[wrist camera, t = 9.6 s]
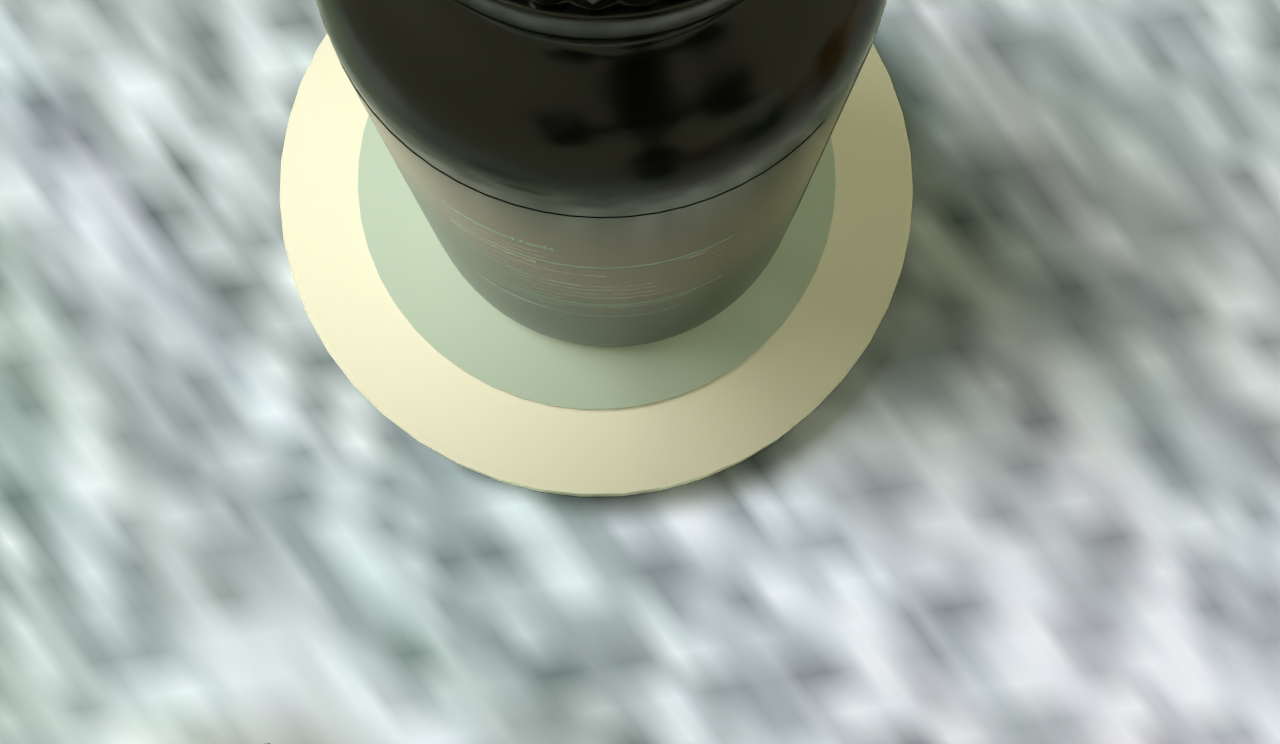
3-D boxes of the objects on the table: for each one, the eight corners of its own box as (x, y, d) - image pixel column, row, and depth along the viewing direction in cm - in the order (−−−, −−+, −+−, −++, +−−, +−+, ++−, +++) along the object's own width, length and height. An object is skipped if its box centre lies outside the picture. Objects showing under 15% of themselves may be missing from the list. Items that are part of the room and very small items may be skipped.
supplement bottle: (497, -33, 22) (343, -757, 10) (834, 66, 21) (1087, -560, 10) (378, 292, 21) (43, -96, 9) (734, 401, 20) (885, 153, 8)
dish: (620, -182, 24) (620, -226, 23) (1021, 217, 22) (1047, 194, 21) (175, 175, 22) (146, 150, 21) (574, 630, 21) (570, 634, 19)
